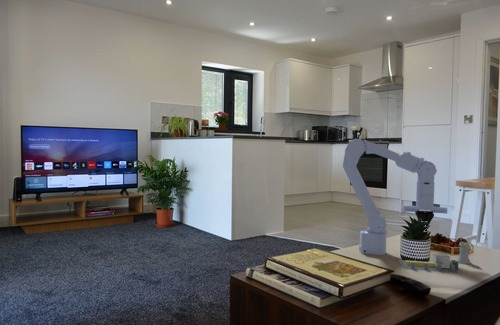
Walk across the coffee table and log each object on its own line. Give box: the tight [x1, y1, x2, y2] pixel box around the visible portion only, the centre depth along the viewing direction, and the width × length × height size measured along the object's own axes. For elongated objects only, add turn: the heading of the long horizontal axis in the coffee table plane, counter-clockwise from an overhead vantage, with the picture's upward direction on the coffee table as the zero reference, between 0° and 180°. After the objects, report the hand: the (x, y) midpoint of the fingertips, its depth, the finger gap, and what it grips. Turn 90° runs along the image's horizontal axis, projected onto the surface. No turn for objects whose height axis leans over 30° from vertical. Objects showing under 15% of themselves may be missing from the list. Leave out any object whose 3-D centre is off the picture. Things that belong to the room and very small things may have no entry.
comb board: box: [397, 259, 463, 274], centre depth 121 cm, size 17×10×3 cm, turn 80°
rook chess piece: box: [456, 241, 472, 265], centre depth 127 cm, size 4×4×8 cm
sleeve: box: [432, 252, 451, 268], centre depth 121 cm, size 4×4×4 cm
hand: (423, 232), depth 133 cm, fingers closed
